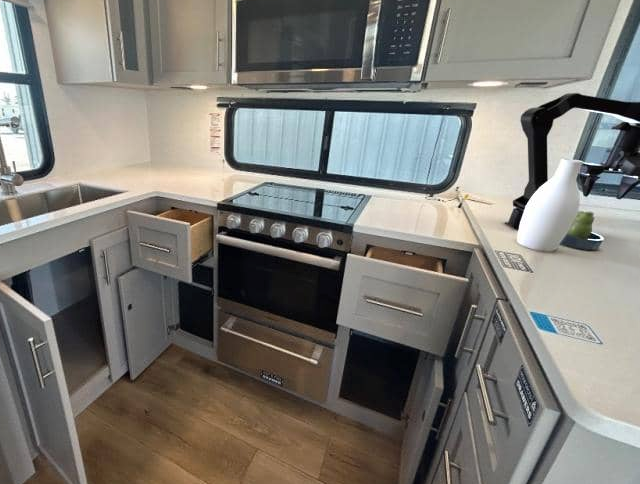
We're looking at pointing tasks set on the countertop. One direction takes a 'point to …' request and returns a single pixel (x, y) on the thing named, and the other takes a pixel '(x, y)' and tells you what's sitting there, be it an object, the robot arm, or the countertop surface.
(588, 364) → the countertop surface
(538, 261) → the countertop surface
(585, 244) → the holder
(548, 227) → the bottle
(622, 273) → the countertop surface
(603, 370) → the countertop surface
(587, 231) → the pear
